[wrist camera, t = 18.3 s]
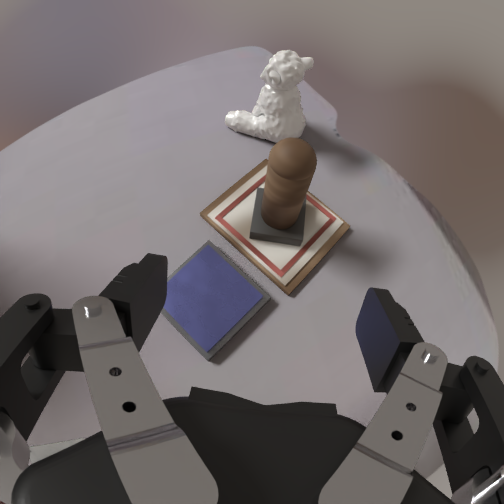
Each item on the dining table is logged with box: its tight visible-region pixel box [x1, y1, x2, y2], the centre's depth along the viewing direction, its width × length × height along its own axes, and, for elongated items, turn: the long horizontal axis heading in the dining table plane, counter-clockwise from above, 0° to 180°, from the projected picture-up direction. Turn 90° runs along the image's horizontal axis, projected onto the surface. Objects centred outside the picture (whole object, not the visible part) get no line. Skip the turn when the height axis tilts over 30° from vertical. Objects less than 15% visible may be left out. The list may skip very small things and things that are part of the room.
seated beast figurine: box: [225, 50, 314, 143], centre depth 32 cm, size 10×9×12 cm
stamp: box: [249, 137, 317, 246], centre depth 26 cm, size 5×5×11 cm
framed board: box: [200, 159, 350, 295], centre depth 32 cm, size 12×10×1 cm
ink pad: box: [161, 240, 271, 361], centre depth 28 cm, size 8×8×2 cm
